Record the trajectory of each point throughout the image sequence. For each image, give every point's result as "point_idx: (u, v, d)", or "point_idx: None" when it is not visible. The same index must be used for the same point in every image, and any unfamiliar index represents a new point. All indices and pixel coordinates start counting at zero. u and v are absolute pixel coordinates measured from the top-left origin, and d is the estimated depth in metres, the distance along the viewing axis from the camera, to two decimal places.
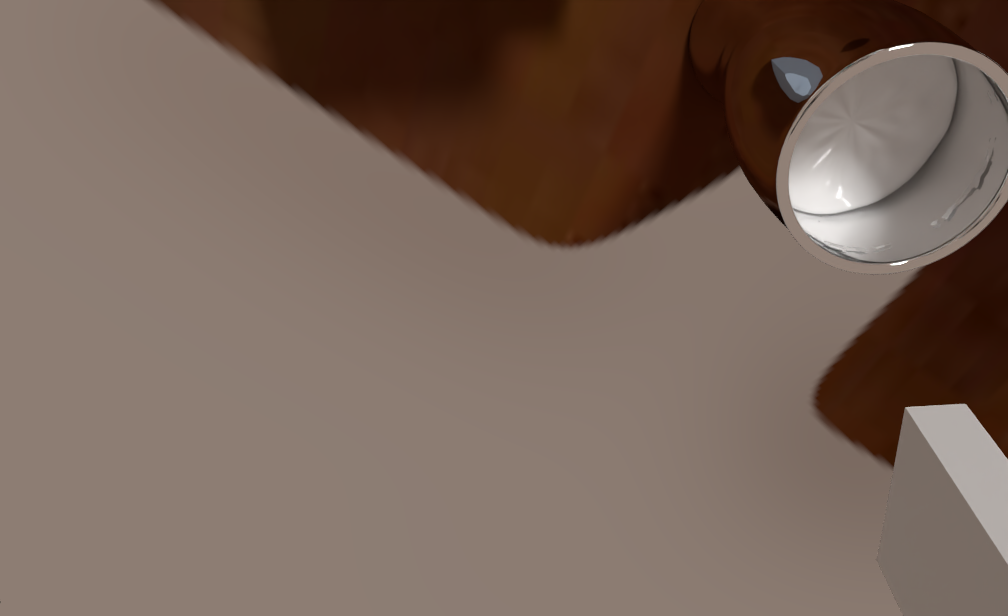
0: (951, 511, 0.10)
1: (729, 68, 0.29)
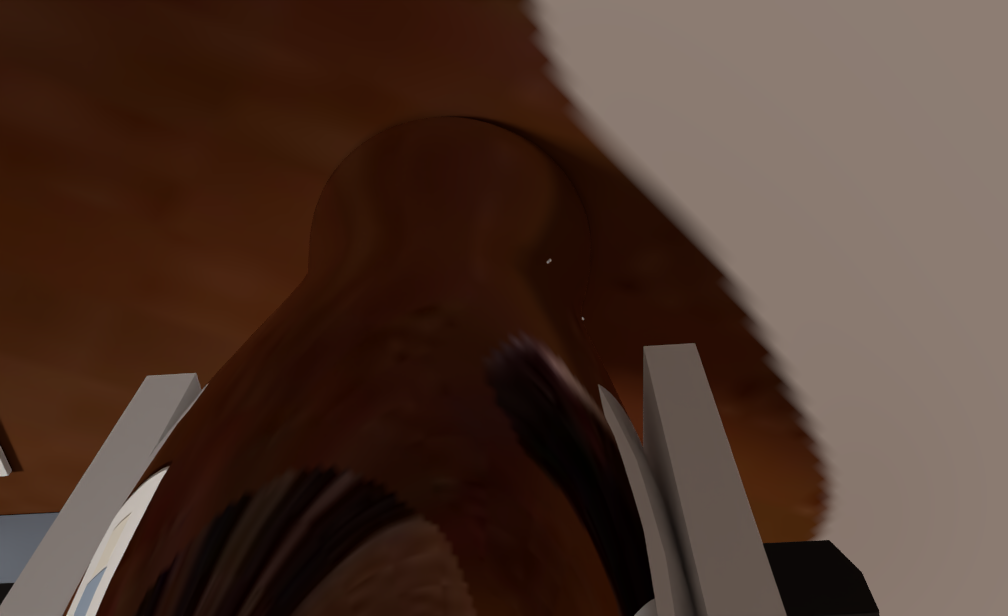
0: (658, 429, 0.12)
1: None
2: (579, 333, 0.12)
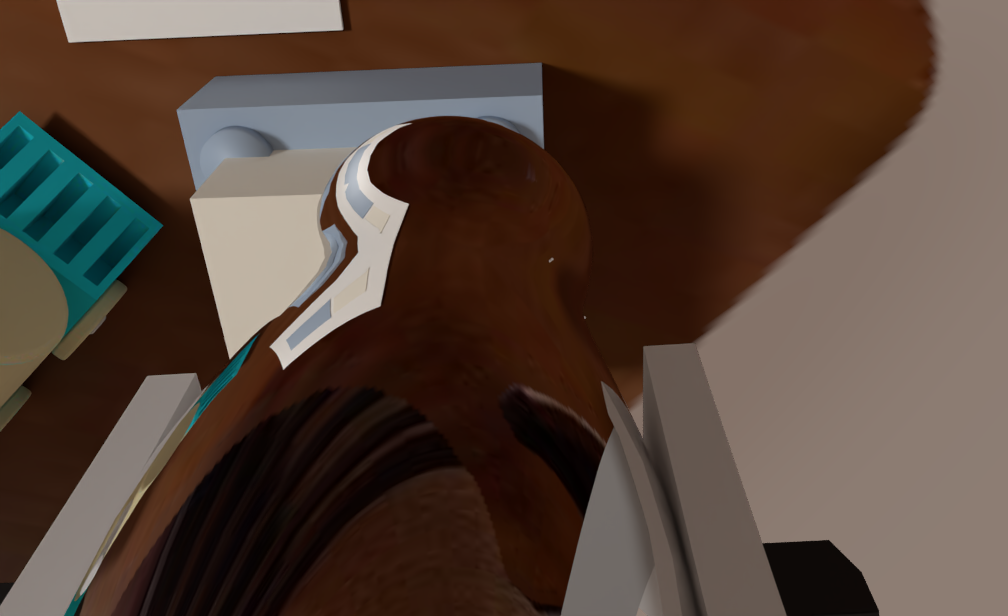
0: (657, 429, 0.12)
1: None
2: (581, 332, 0.12)
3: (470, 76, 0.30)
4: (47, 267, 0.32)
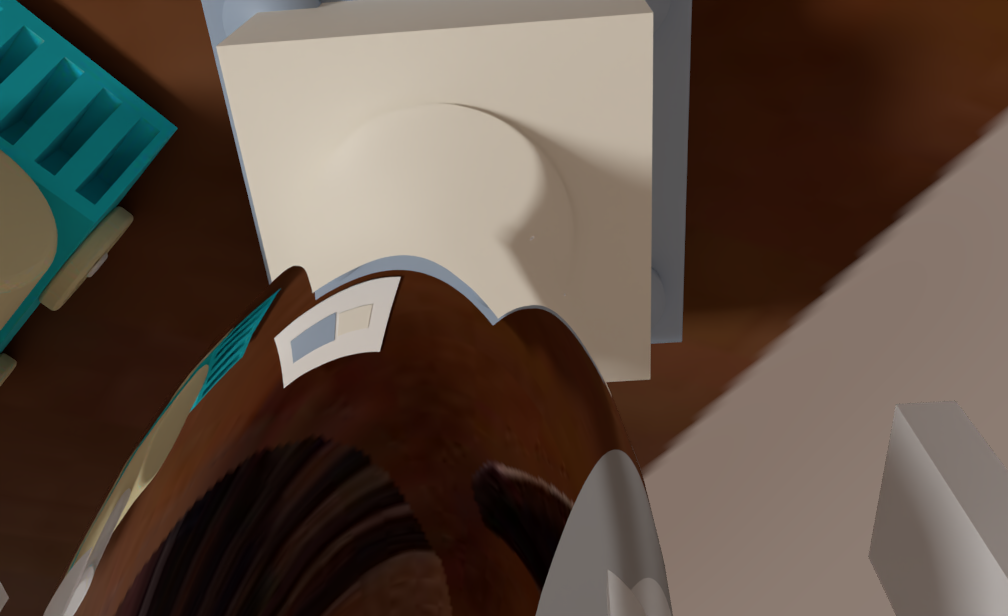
0: (940, 507, 0.10)
1: None
2: (558, 302, 0.13)
3: None
4: (27, 176, 0.24)
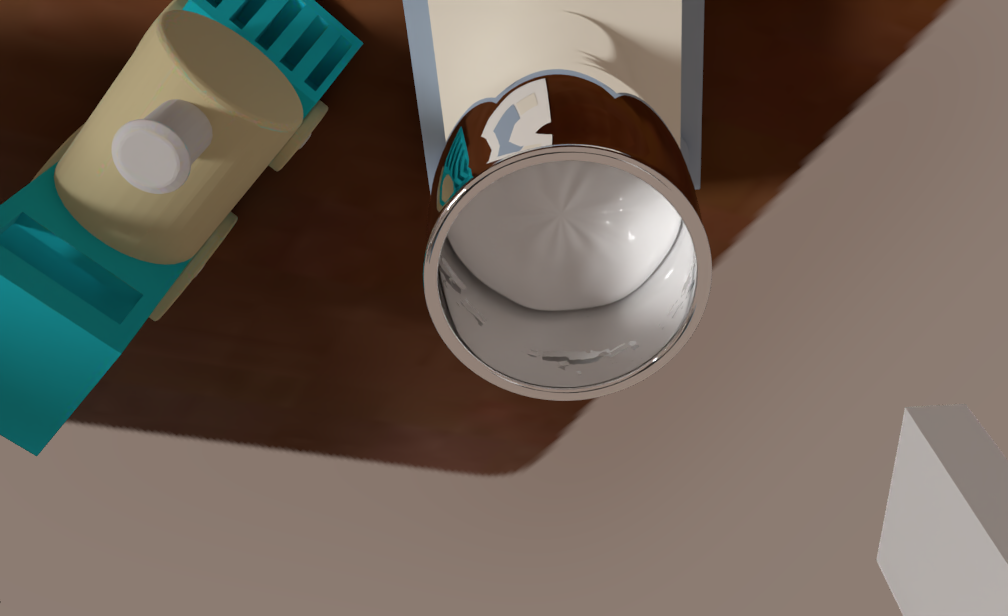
0: (951, 511, 0.10)
1: None
2: None
3: None
4: (279, 69, 0.36)
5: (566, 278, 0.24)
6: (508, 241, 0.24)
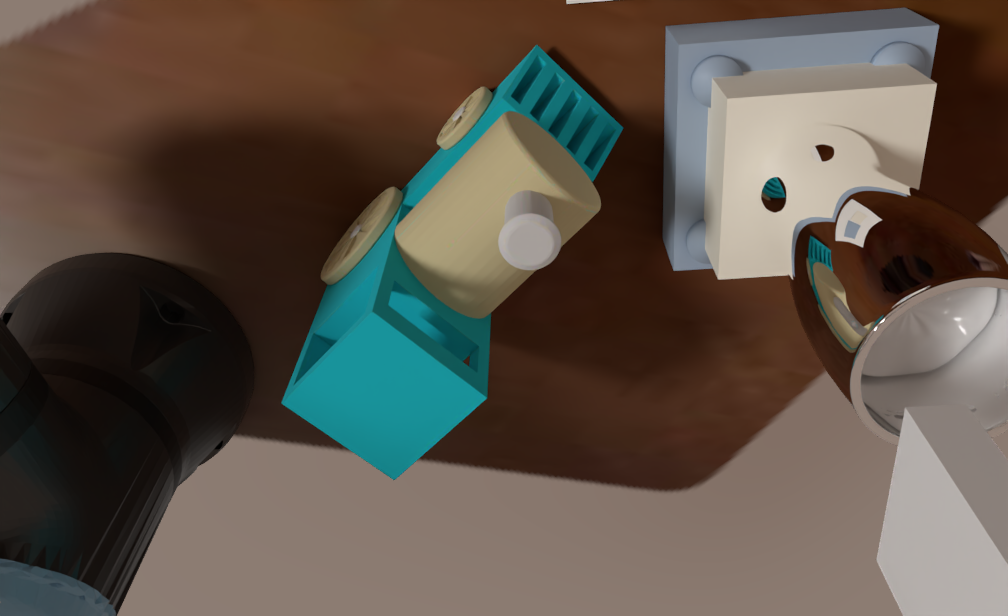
0: (951, 510, 0.10)
1: None
2: None
3: (865, 17, 0.43)
4: (570, 155, 0.44)
5: (899, 353, 0.32)
6: None
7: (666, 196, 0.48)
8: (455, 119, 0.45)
